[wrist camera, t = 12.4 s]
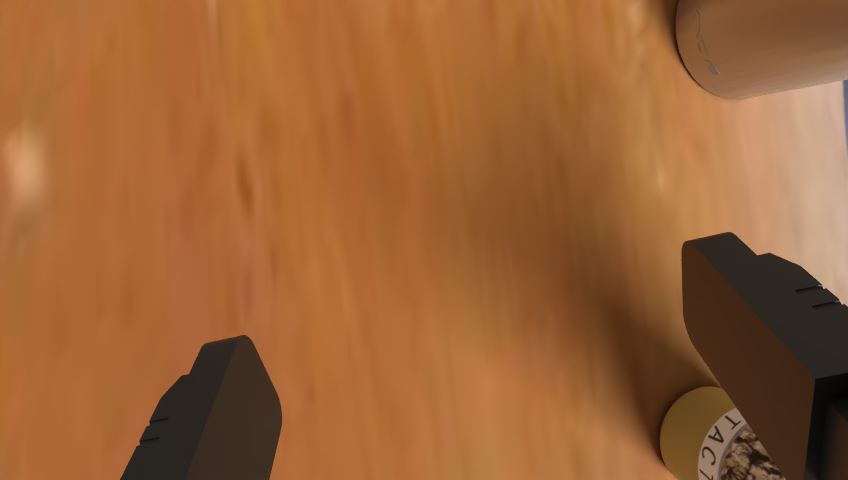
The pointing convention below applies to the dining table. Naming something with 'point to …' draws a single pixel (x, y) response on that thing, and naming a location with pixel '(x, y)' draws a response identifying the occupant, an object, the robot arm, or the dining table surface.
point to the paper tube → (712, 440)
